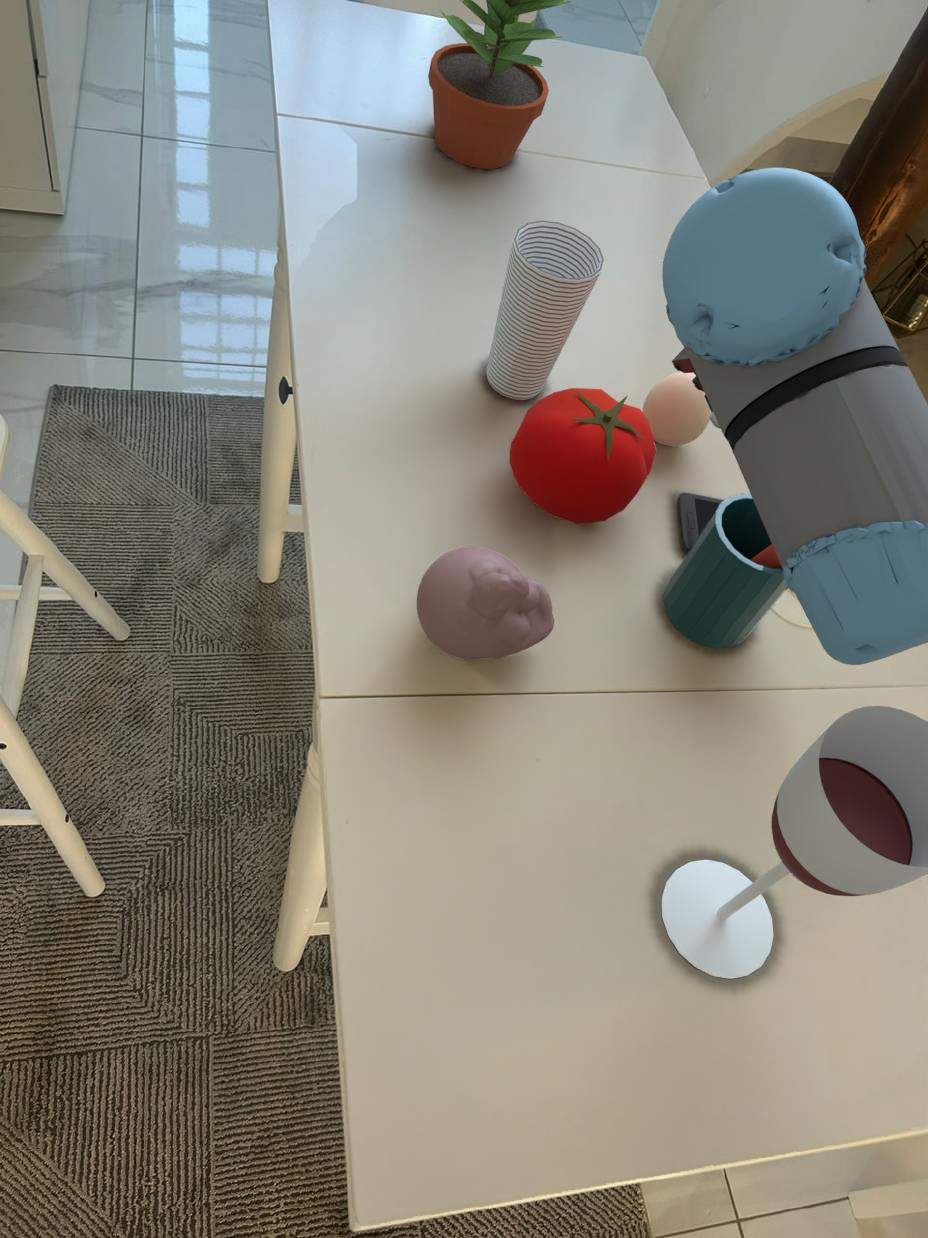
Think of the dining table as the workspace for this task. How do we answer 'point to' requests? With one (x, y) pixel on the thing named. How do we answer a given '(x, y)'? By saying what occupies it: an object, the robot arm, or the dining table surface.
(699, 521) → the cell phone
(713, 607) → the teal pencil holder
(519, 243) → the cup
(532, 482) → the tomato
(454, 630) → the figurine
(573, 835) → the dining table surface
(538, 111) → the potted plant
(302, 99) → the dining table surface
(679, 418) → the egg
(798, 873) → the wineglass
